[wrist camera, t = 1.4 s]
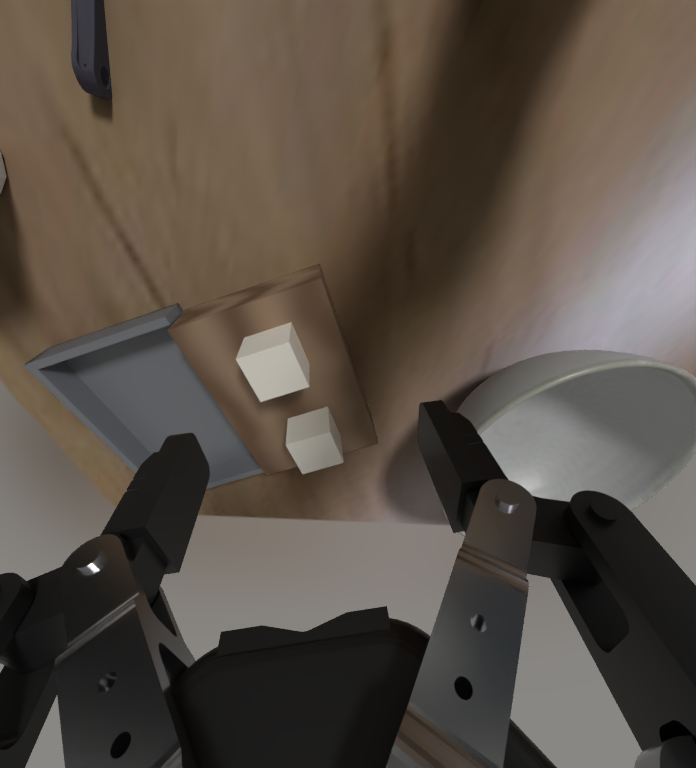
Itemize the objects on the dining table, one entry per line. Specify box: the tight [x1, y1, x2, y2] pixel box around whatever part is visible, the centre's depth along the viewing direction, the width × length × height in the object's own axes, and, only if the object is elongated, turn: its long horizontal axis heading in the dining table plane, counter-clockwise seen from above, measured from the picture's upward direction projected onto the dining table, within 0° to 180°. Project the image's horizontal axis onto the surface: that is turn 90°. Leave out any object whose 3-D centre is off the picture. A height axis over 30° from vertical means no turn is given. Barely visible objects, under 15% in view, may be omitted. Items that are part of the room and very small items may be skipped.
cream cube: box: [236, 322, 309, 402], centre depth 28 cm, size 4×4×4 cm
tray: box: [23, 303, 264, 489], centre depth 37 cm, size 14×22×4 cm, turn 17°
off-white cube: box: [286, 407, 344, 474], centre depth 34 cm, size 4×4×4 cm
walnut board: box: [167, 264, 378, 476], centre depth 35 cm, size 14×20×5 cm
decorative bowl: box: [440, 350, 696, 537], centre depth 38 cm, size 27×27×12 cm
